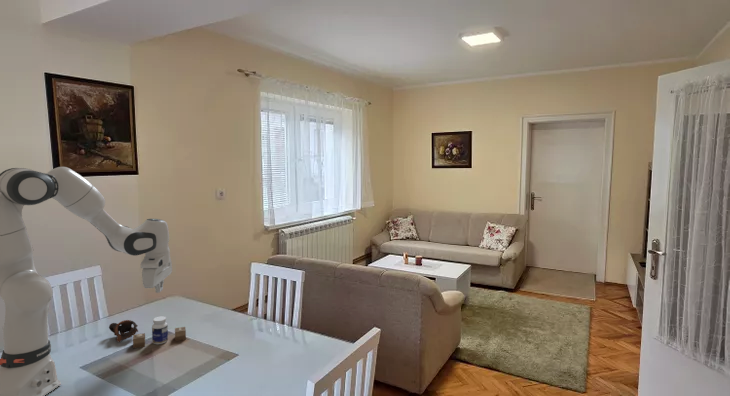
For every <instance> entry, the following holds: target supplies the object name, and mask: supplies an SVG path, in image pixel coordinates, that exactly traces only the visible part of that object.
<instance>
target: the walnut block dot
mask: <svg viewBox="0 0 730 396" xmlns="http://www.w3.org/2000/svg"><path fill="white" fill-rule="evenodd" d="M144 347H146V333H145V332H144V333H135V334H134V335H132V348H133V349H138V348H144Z"/></svg>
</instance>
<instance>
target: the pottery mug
mask: <svg viewBox="0 0 730 396" xmlns="http://www.w3.org/2000/svg"><path fill="white" fill-rule="evenodd" d="M137 327H138V324H137V323H136V322H135V321H133V320H131V319H126V320H122V321H120V322H118V323H117V322H111V323H110V324H109V326H108V328H109V330H110V331H111V332H112V333H113V335H114V336H116V339H115V341H116V342H118V343H120V342H122V341H124V340H126V339H130V338H133V336H134V335H136V334H137V333H138V332H139V330H138V328H137Z"/></svg>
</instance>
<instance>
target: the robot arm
mask: <svg viewBox="0 0 730 396" xmlns="http://www.w3.org/2000/svg"><path fill="white" fill-rule="evenodd" d="M49 199H53V200H55V201H57V202H58V203H59V204H60V205H61V206H62V207H64V208H65V209H66V210H67V211H69V212H70V213H72V214H73V215H75V216H76V217H78V218H81V219H82V220H86V221H87V222H89V223H90V224H91V225H92V226H94V228H96V229H97V230H98V231H99V232H100V233H102V234H103V236H104V237H105V239H106V241H107V243H108V245H109V247H110V248H111V249H112V250H114V251H117V252H120V253H123V254H125V255H126V254H127V255H129V256H136V257H137V256H140V255H143V254H144V258H143V259H142V261H141V263H140V269H142V270H141V271H142V272H141V278H142V280H141V281H142V285H143V287H144V289H153V288H154V289H155V293H157V294H159V293H161V292H162V291H163V290H164V285H165V284H164V282H165V279H166V278H168V277H169V276H170V275H171V274H172V273H173V264H172V258H171V249H170V246H169V245H170V244H169V243H170V232H169V226H168V222H167V221H166V220H164V219H160V218H146V220H144V222H142V223H141V224H139V225H138V226H136V227H134V228H132V227H129V226H127V225H123V224H120V223H119V222H118V221H116V219H114V218H113V217H112V215H110V214H109V213H108V212H107V211H106V210H105V209H104V207H105V205H106V199H105V197H104V195H103V194H102V193H101V192H100V190H99V189H98V188H97V187H95V185H93V184H92V183H91V182H90V181H89V180H88V179H86V178H85V177H83V176H82V175H81V174H80V173H77V172H76V171H75V170H73V169H71V168H70V167H67V166H58V167H55V168H53V169H51V170H49V171H47V172H46V173H45V172H41V171H37V170H34V169H33V170H32V169H30V168H24V167H12V168H8V169H6V170H4V171H2V172H0V299H1V300H2V301H3V302H4V307H5V315H4V320H3V321H4V322H3V325H2V326H1V327H2V330H1V331H2V339H3V340H2V342H3V350H2V352H1V356H0V396H44V395H46V394H47V393H49V392H50V391H52V390H53V389H55V388H56V387H58V386H60V385H61V386H62V382H61V380H59V379H58V374H57V369H56V364H55V361H54V359H53V358H52V356H51V352H52V345H51V341H50V339H49V329H48V327H49V325H48V318H49V317H48V315H49V310H50V304H51V303H50V302H51V300H52V298H53V293H54V292H53V288H52V285H51V284H50V282H49V280H48V279H47V278H45V277H44V276H42V275H40V274H39V273H38V271H37V269H36V265H35V261H34V260H35V259H34V248H33V244H32V241H31V239H30V236H29V232H28V230H27V227H26V225H25V221H24V219H23V215H22V214H23V209H24V206H34V205H38V204H41V203H44V202H46V201H47V200H48V201H49ZM61 386H60V387H61ZM58 388H59V387H58ZM55 390H56V389H55ZM52 392H53V391H52ZM49 394H50V393H49ZM46 396H47V395H46Z"/></svg>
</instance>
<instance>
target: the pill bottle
mask: <svg viewBox="0 0 730 396" xmlns="http://www.w3.org/2000/svg"><path fill="white" fill-rule="evenodd" d="M152 321H153V323H152V325H151V333H152V334H151V335H152V336H151V337H152V343H153V344H154V345H162V344H165V343H166V342H168V340H169V333H168V332H169V330H168V329H169V328H168V327H169V326H168V322H166V321H167V316H163V315H162V316H161V315H160V316H156V317H154V318H153V319H152Z"/></svg>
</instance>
